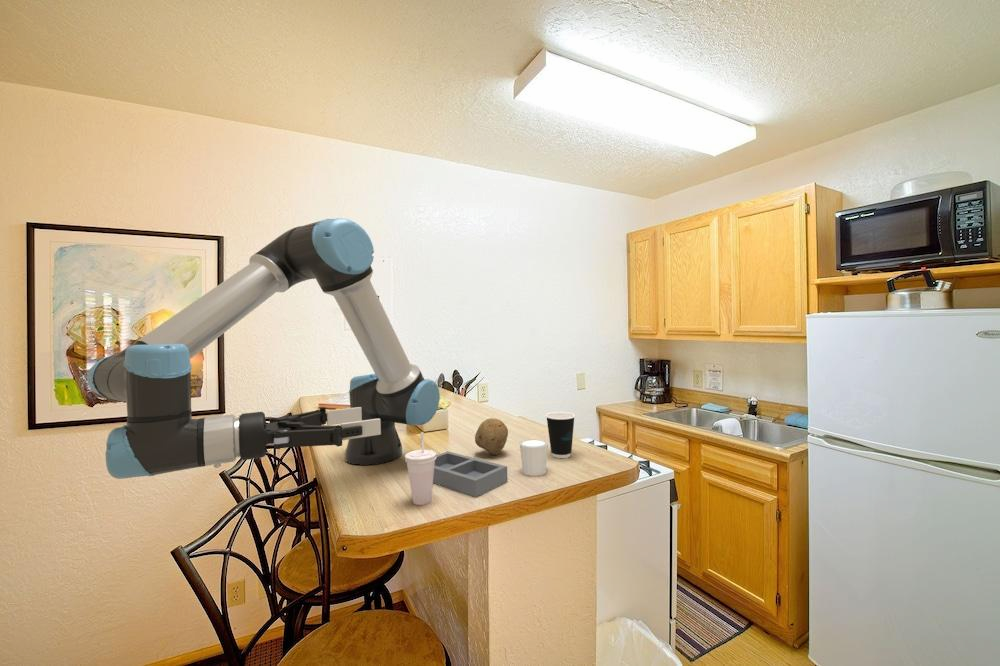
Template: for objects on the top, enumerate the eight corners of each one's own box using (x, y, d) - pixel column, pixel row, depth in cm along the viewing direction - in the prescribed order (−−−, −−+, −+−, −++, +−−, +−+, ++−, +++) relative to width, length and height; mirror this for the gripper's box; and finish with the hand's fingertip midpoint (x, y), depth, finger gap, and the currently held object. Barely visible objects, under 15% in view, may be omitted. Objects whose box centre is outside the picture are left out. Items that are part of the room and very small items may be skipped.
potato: (474, 460, 108) (473, 422, 108) (476, 450, 117) (475, 415, 117) (509, 459, 109) (507, 421, 108) (508, 449, 117) (507, 414, 117)
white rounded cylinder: (547, 477, 95) (546, 447, 95) (518, 476, 96) (517, 446, 96) (549, 467, 102) (549, 439, 102) (522, 466, 103) (521, 438, 103)
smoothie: (444, 500, 84) (442, 432, 84) (417, 511, 80) (415, 439, 79) (426, 492, 89) (423, 427, 88) (400, 501, 84) (397, 433, 84)
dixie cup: (572, 461, 105) (571, 419, 105) (542, 458, 108) (541, 417, 108) (579, 452, 112) (578, 412, 112) (551, 449, 116) (550, 411, 115)
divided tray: (415, 477, 98) (415, 462, 98) (448, 464, 106) (447, 451, 106) (476, 497, 85) (475, 480, 85) (507, 481, 93) (507, 466, 93)
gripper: (239, 443, 78) (355, 426, 89) (237, 483, 57) (390, 455, 68) (237, 403, 78) (354, 392, 89) (236, 429, 56) (389, 410, 68)
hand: (370, 419), depth 78 cm, fingers open, 13 cm apart
